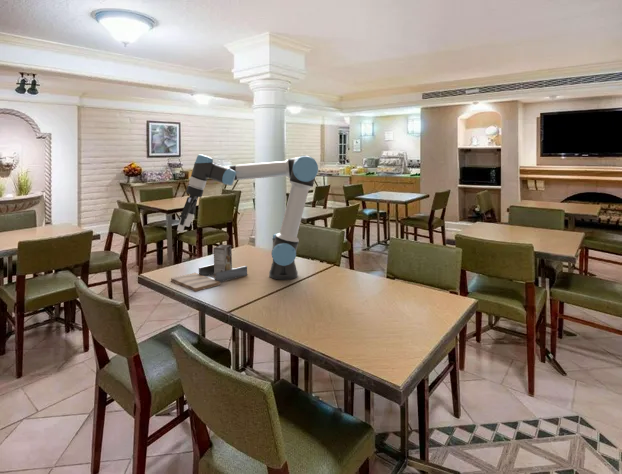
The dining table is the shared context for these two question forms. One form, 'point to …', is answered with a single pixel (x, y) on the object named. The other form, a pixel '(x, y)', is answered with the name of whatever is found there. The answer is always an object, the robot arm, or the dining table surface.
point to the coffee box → (222, 258)
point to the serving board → (195, 281)
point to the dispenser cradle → (223, 273)
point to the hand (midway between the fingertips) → (183, 228)
